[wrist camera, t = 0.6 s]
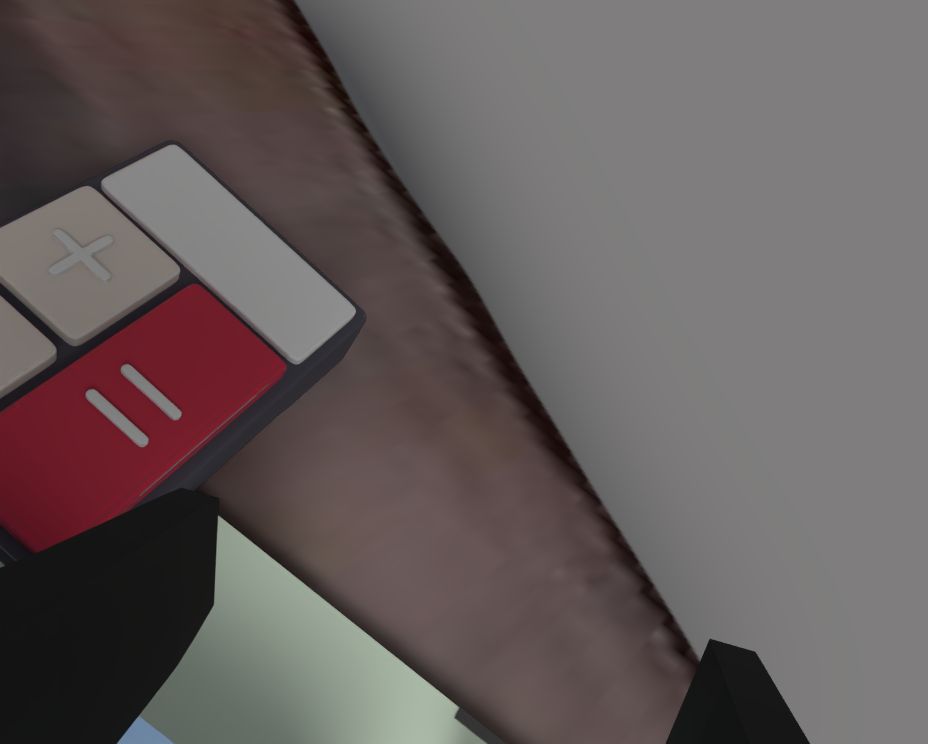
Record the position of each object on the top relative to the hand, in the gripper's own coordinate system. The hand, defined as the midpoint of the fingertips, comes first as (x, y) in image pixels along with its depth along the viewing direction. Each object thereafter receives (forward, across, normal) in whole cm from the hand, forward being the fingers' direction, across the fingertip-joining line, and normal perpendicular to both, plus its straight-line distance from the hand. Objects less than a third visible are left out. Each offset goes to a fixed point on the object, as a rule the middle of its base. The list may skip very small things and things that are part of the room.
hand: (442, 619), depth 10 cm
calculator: (+15, +16, +6) cm, 22 cm away
